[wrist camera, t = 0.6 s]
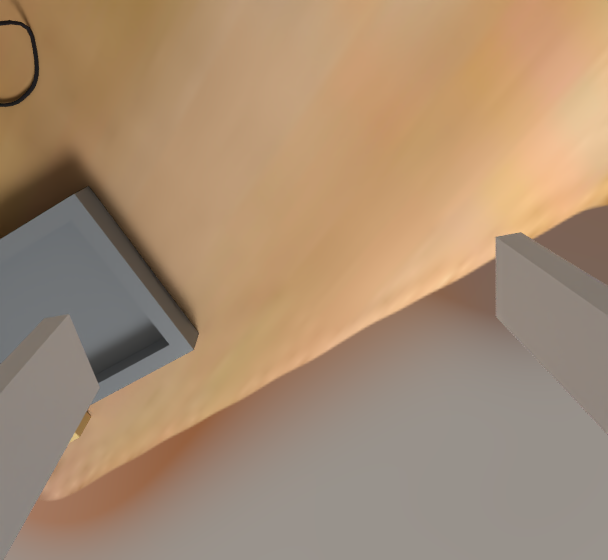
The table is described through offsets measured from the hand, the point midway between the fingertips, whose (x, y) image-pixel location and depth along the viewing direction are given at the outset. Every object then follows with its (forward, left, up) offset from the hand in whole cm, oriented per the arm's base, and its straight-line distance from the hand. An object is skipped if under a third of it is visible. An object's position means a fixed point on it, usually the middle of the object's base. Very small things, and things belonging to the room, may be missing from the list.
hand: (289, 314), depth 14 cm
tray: (+2, -25, -26) cm, 36 cm away
